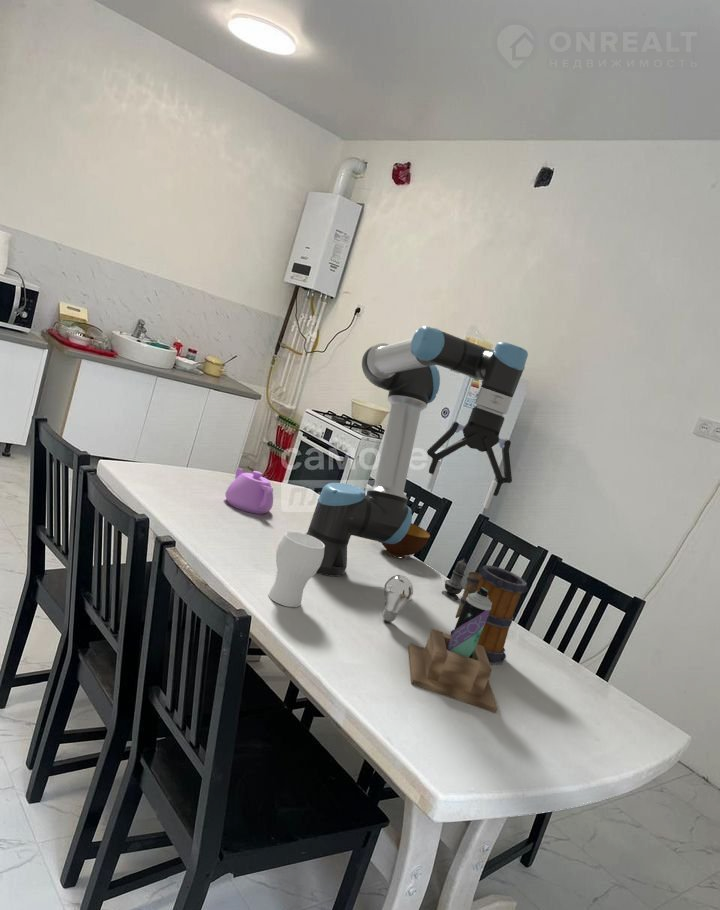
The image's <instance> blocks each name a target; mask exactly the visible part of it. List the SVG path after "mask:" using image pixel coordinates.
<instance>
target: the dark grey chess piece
mask: <svg viewBox="0 0 720 910" xmlns="http://www.w3.org/2000/svg"><path fill="white" fill-rule="evenodd" d="M467 567H468V566H467V562H465V558H463V559H461V560H458V561H457V563H456V565H455V567H454V569H453V570H452V575H451V577H450V579H446V580H444V588H445V590H442V591H441V594H442V596H445V597H447V598H449V599H452V600H454V601H455V600H460V598H459V596H458V595H459V594H460V593H461V592H462V590H464V589H465V587H464V586H463V585H462V580H463V578H464V576H465V571H466V569H467Z"/></svg>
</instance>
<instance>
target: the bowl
mask: <svg viewBox="0 0 720 910" xmlns="http://www.w3.org/2000/svg"><path fill="white" fill-rule="evenodd" d="M430 538H431V535H430V533H429V532H428V531H427V530H425V529H424V528H422V527H420V526H419V525H416V524H415V523H412V522H411V525H410V527H409V530H408V532H407V533H406V535H405V536H404V537H403V538H402V540H401V541H399V542H398V543H395V544H388V543H381V545H382V546H383V547H384V548H385V549H386V550H385V553H387V554H388V553H389V554H391V555H392V557H394V556H395V557H394V558H397V557H407V556H412V555H415V554H416V553H419V551H421V550H422V549H423V548H424V547H425V546H426V545H427V543H428V542H429V539H430ZM389 554H388V555H389ZM391 555H390V556H391Z"/></svg>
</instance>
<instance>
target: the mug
mask: <svg viewBox="0 0 720 910" xmlns="http://www.w3.org/2000/svg"><path fill="white" fill-rule="evenodd" d="M527 585H528V583H527V582H526V580H524V578H522V577H521V576H519V575H517V574H515V573H514V572H511V571H509V570H506V569H505V568H501V567H498V566H493V565H487V564H485V565H483V566H482V567H480V568H479V570H478V572H476V571H470V572H469V571H468V573H467V577H466V582H465V587H464V589H463V593H462V596H461V597H460V598H459V605H458V608H457V611H456V614H455V618H456V619H459V616H460V613H461V611H462V608H463V605H464V603H465V600H466V598H467V597H468V594H470V593H475V592H476V591H479V589H480V587H484V588H486V589H487V590H488V592H487V594H488V599H489V600H490V601H491V602H492V606H491V610H490V612H489V615H488V618H487V620H486V623H485V625H484V628H483V630H482V633H481V636H480V638H479V641H478V643H477V644H479V645H482V646H484V649H485V652H486V655H487V658H488V660H489V663H490V666H500V665H501V666H502V665H503V663H504V661H505V660H506V657H507V655H506V653H505V652H506V649H505V644H506V640H507V638H508V633H509V629H510V627H511V625H512V624H513V620H514V613H515V610H516V608H517V605H518V603H519V600H520V598H521V596H522V594H523V593H527V591H528V589H529V588H528V586H527ZM453 632H454V629H452V630H451V631H450V635H452V634H453Z"/></svg>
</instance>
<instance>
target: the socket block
mask: <svg viewBox="0 0 720 910" xmlns="http://www.w3.org/2000/svg"><path fill="white" fill-rule="evenodd" d="M451 637H452V635H451V633H450V634H449V633H447V632H443V631H442V630H441V631H440V630H439V629H435V628H431V630H430V633H429V636H428V639H427V641H426V643H425V647H423V646H420V645H417V644H413V643H411V642H410V643H409V644H408V648H407V651H408V660H409V671H410V683H411V685H412V686H416V687H419V688H423V689H424V690H429V691H432V692H433V693H437V694H440V695H442V696H446V697H448V698H452V699H455V700H457V701H461V702H463V703H467V704H470V705H472V706H476V707H478V708H481V709H484V710H487V711H490V712H493V713H494V714H495V713H497V712H498V709H499V707H498V705H497V702H496V699H495V698H496V697H495V696H494V693H493V689H492V687H491V683H490V679H489V678H490V676H491V674H492V671H493V669H492V665H490V663H489V660H488V658H487V655H486V652H485V649H484V646H482V645H479V644H477V646H476V648H475V651H474V654H473V656H472V659H471V658H469V657H466V656H463V655H460V654H457V653H454V652H451V651H448V650H447V647H448V645H449V642H450V639H451Z"/></svg>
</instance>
